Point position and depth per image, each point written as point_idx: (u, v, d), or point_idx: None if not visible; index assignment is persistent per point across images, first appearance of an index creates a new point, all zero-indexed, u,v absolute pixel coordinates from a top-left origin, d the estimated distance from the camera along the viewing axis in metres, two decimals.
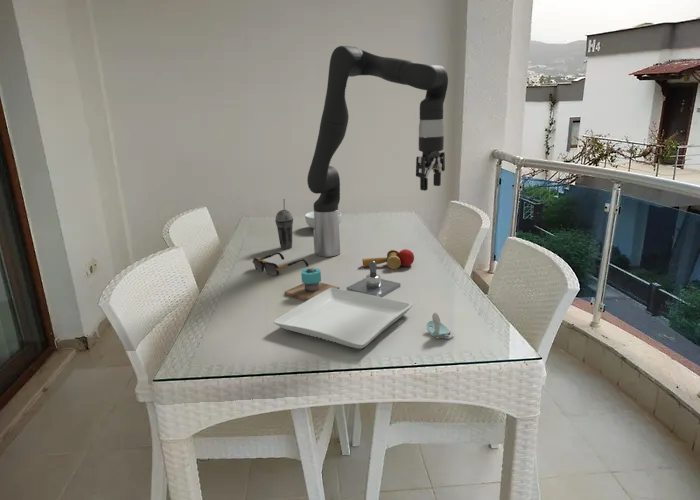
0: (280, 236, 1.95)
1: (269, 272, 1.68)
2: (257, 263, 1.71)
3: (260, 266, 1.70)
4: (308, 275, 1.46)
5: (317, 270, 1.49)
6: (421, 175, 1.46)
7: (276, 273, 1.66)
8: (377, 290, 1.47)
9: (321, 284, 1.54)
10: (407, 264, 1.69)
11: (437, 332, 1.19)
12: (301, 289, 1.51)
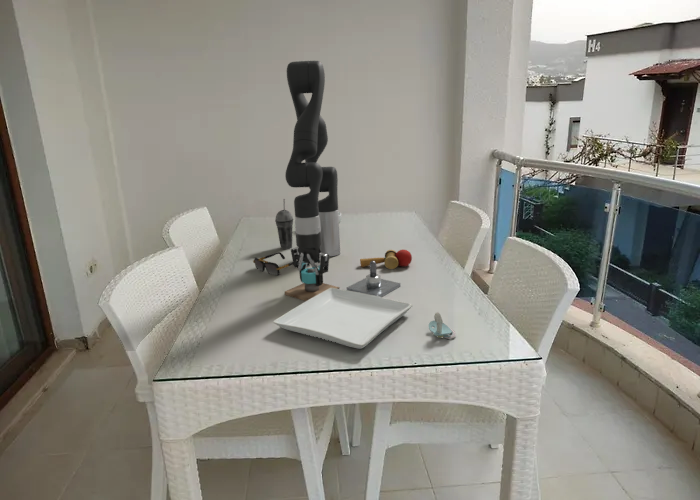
0: (280, 236, 1.95)
1: (270, 272, 1.68)
2: (258, 263, 1.71)
3: (261, 266, 1.71)
4: (308, 275, 1.46)
5: None
6: (326, 270, 1.45)
7: (277, 273, 1.67)
8: (377, 290, 1.47)
9: None
10: (405, 264, 1.69)
11: (439, 332, 1.20)
12: (301, 289, 1.51)
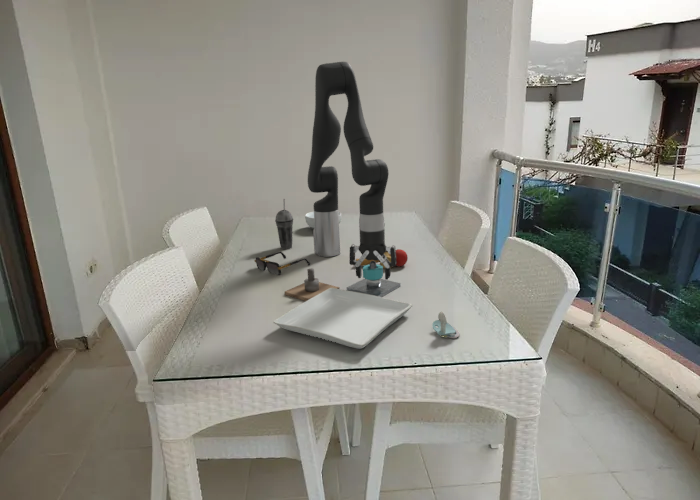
0: (280, 236, 1.95)
1: (271, 271, 1.69)
2: (259, 262, 1.72)
3: (262, 265, 1.71)
4: (375, 271, 1.47)
5: (378, 265, 1.51)
6: None
7: (278, 272, 1.67)
8: (377, 290, 1.47)
9: (321, 284, 1.54)
10: (400, 264, 1.69)
11: (443, 331, 1.20)
12: (301, 289, 1.51)
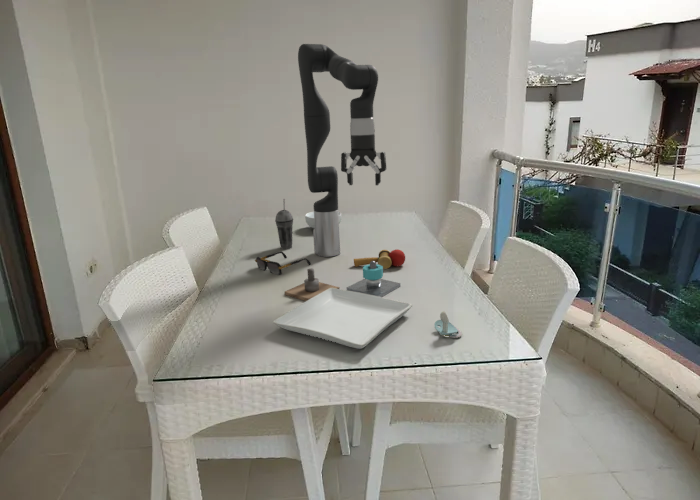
0: (280, 236, 1.95)
1: (272, 271, 1.69)
2: (260, 262, 1.72)
3: (263, 265, 1.71)
4: (375, 271, 1.47)
5: (378, 265, 1.51)
6: (385, 169, 1.54)
7: (279, 272, 1.67)
8: (377, 290, 1.47)
9: (321, 284, 1.54)
10: (398, 264, 1.69)
11: (445, 331, 1.20)
12: (301, 289, 1.51)
